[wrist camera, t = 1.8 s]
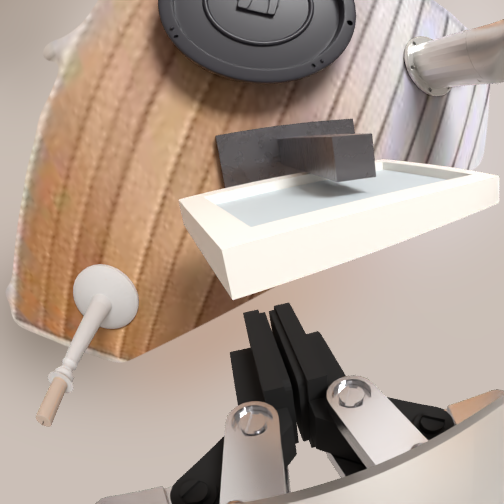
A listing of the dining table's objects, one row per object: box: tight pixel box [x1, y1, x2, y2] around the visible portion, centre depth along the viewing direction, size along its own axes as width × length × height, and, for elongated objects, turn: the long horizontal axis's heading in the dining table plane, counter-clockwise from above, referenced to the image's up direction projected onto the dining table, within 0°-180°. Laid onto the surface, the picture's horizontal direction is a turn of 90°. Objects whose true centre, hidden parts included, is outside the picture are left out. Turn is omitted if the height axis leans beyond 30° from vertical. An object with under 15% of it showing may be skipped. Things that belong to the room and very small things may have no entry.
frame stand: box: [216, 119, 376, 188], centre depth 36 cm, size 22×9×23 cm, turn 99°
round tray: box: [158, 0, 356, 84], centre depth 35 cm, size 30×6×30 cm
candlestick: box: [36, 264, 139, 427], centre depth 37 cm, size 13×13×30 cm
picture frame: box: [179, 159, 500, 300], centre depth 29 cm, size 30×3×20 cm, turn 100°
